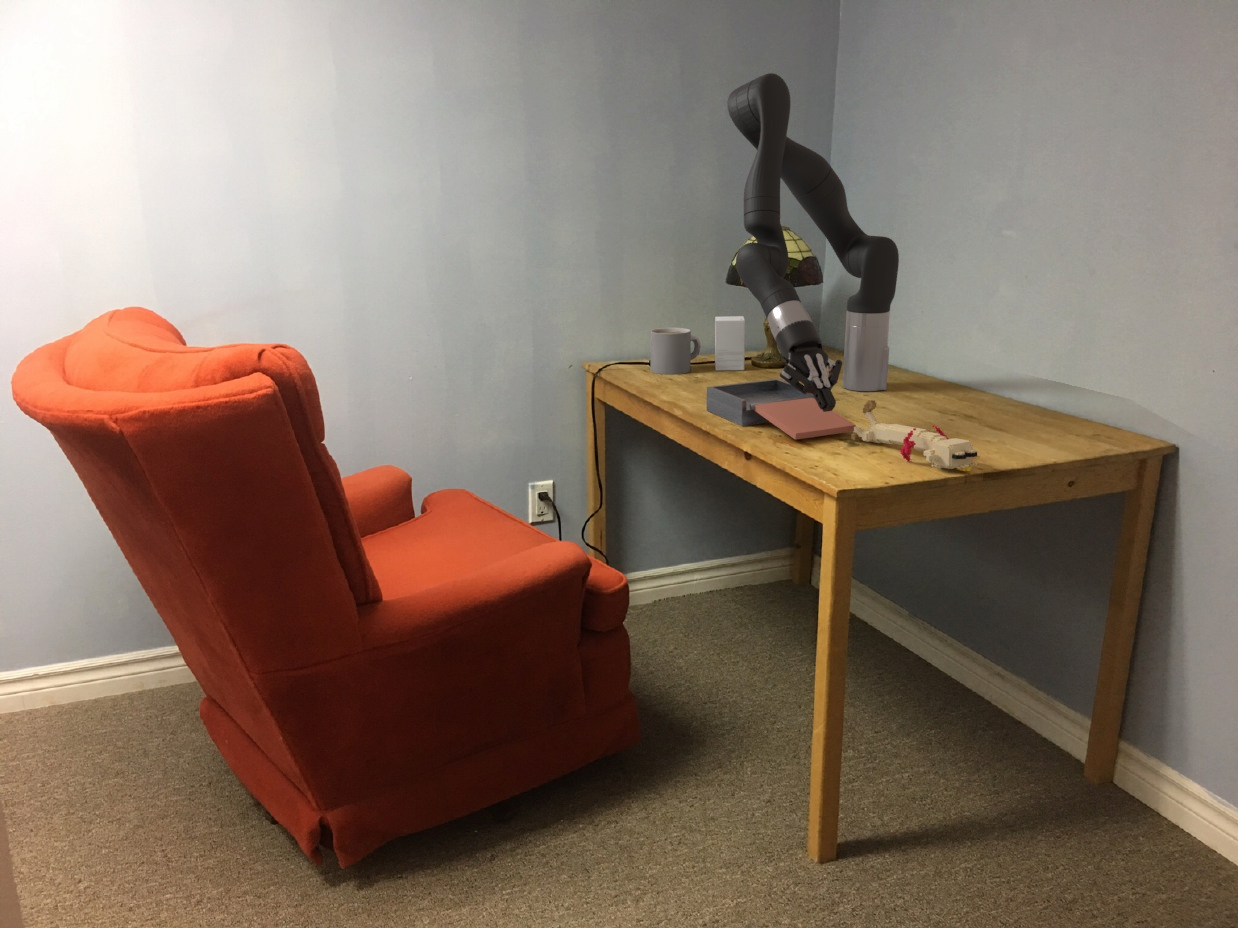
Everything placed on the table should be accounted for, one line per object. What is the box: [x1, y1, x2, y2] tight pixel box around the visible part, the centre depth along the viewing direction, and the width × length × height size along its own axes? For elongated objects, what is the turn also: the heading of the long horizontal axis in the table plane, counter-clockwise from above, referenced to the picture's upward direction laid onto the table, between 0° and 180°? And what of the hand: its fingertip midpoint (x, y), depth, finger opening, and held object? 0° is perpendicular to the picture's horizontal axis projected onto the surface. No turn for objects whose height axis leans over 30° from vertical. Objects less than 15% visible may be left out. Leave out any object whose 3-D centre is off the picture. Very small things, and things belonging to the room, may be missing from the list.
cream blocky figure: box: [850, 399, 978, 472], centre depth 155 cm, size 10×9×25 cm
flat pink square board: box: [750, 396, 857, 440], centre depth 172 cm, size 2×14×15 cm
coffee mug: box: [649, 327, 701, 376], centre depth 228 cm, size 13×10×10 cm
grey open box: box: [706, 378, 816, 427], centre depth 185 cm, size 14×17×5 cm
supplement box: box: [714, 315, 746, 371], centre depth 229 cm, size 7×7×13 cm
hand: (829, 409), depth 164 cm, fingers closed
